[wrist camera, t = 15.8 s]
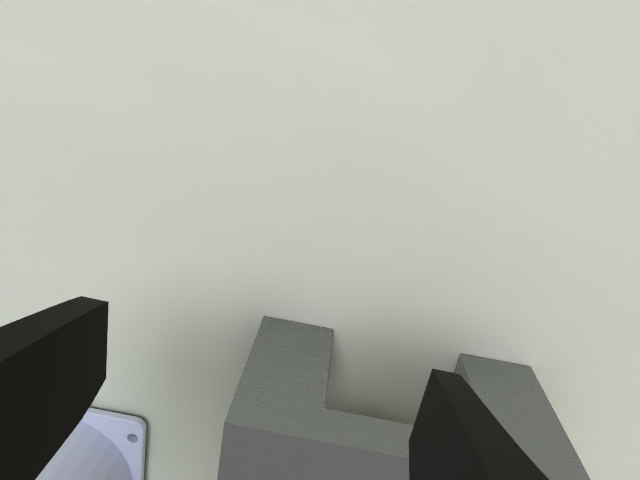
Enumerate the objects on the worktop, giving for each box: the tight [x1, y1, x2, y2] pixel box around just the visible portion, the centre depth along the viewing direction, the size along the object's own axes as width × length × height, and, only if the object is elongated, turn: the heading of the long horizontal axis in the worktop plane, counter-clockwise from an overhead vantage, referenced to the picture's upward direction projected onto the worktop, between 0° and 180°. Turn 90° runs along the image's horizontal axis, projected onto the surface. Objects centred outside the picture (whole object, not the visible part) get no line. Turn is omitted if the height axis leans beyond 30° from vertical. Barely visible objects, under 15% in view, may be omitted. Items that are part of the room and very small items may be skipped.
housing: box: [218, 316, 590, 480], centre depth 19 cm, size 3×12×6 cm, turn 80°
